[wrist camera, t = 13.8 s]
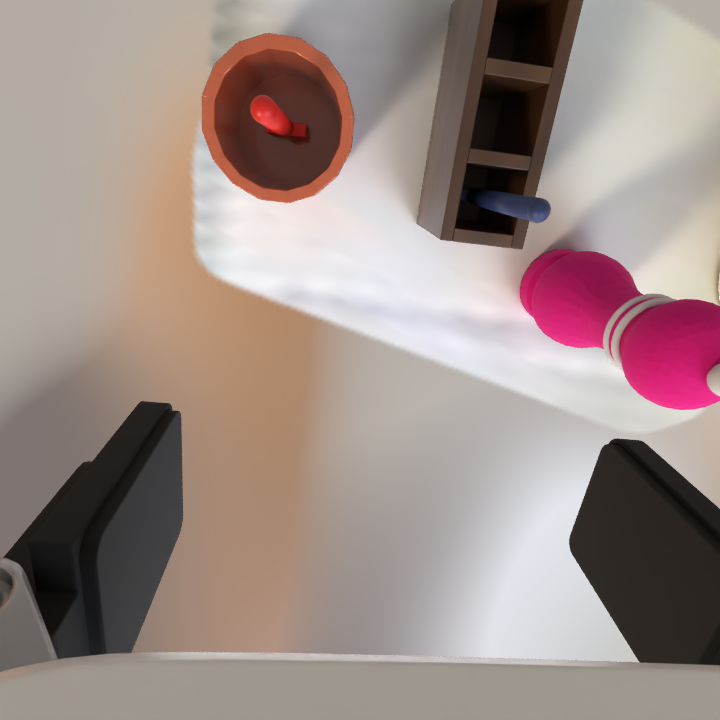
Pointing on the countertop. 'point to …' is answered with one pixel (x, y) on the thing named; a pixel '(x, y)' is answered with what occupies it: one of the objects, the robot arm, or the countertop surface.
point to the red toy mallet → (276, 119)
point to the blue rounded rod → (508, 203)
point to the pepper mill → (628, 326)
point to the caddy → (494, 113)
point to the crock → (295, 98)
